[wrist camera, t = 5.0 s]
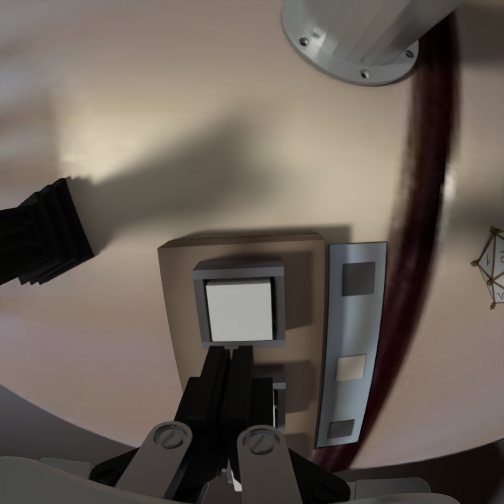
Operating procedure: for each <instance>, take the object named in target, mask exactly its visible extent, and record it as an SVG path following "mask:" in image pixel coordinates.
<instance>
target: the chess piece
mask: <svg viewBox="0 0 504 504" xmlns="http://www.w3.org/2000/svg"><path fill="white" fill-rule="evenodd" d="M92 257H94V255H93V252H92V250H91V248H90V245H89V243H88V240H87V238H86V236H85V233H84V231H83V228H82V225H81V223H80V220H79V218H78V215H77V212H76V210H75V207H74V204H73V201H72V198H71V195H70V193H69V190H68V187H67V184H66V180H65V178H60V179H58V180H57V181H56V182H54V183H53V184H51V185H47V186H46V187H44V188H43V189H42V190H41V191H39V192H35V193H33V194H32V195H31V196H30V197H29V198H27V199H26V200H25V201H24V202H23V203H21V204H20V205H19V206H18V207H16V208H10V209H5V210H0V285H2V284H4V283H6V282H8V281H10V280H13V279H15V278H17V277H18V278H19V280H20V283H21V285H23V284H25V283H27V282H30V284H31V285H33V284H34V283H36V282H39V285H41V284H43V283H45V282H47V281H48V280H50V279H52V278H54V277H56V276H57V275H59V274H61V273H63V272H65V271H67V270H69V269H71V268H72V267H74V266H76V265H78V264H80V263H82V262H84V261H86V260H88V259H90V258H92Z"/></svg>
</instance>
